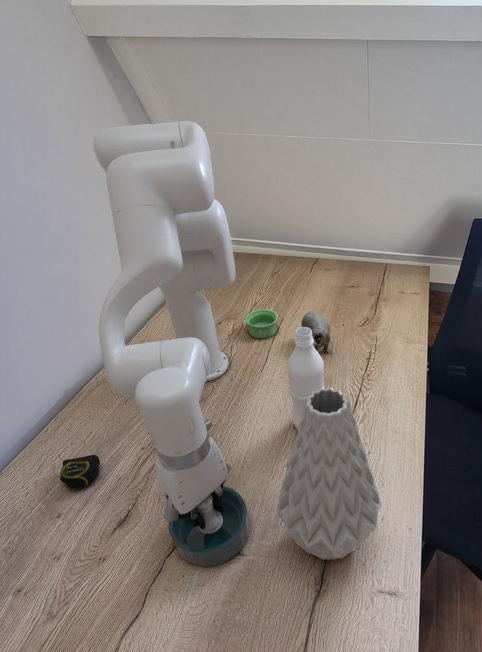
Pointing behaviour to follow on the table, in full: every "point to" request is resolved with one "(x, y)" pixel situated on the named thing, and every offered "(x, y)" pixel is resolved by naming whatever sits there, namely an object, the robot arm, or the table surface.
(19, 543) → the table surface
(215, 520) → the rook chess piece
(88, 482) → the tape measure
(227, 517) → the bowl
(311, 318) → the rhinoceros figurine
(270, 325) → the ramekin
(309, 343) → the water bottle
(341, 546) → the vase
